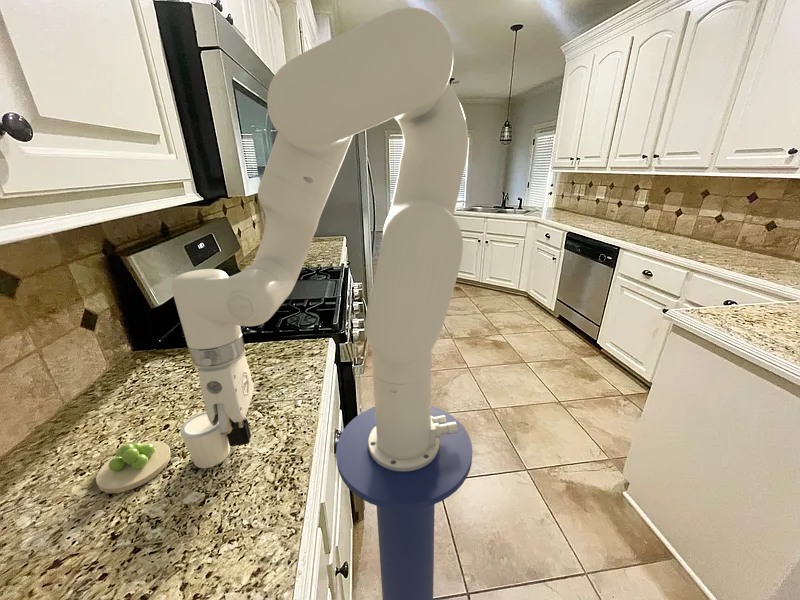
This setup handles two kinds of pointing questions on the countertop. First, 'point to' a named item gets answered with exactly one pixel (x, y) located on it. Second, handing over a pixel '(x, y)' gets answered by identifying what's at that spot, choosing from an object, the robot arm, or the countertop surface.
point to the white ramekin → (204, 441)
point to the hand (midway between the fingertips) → (240, 441)
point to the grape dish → (133, 474)
